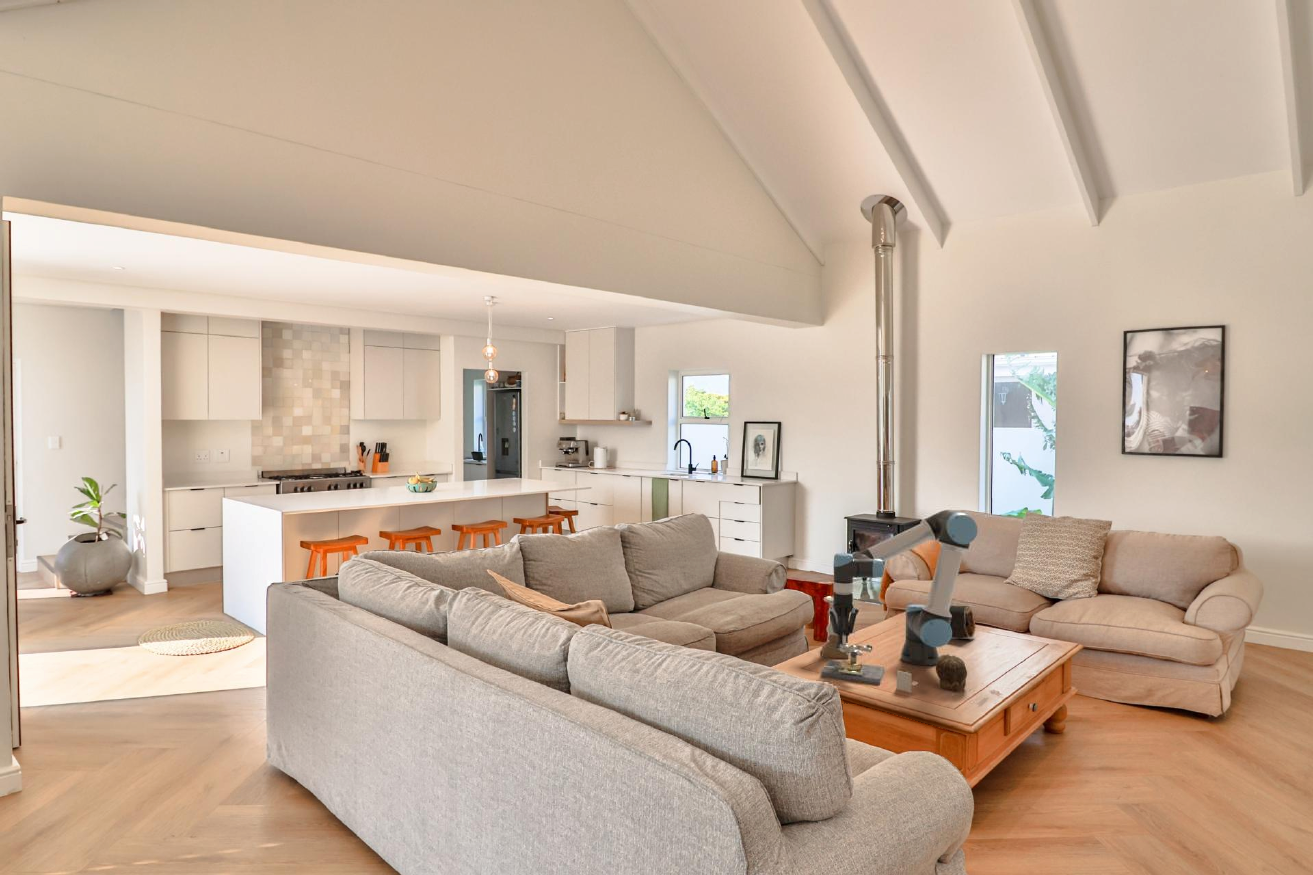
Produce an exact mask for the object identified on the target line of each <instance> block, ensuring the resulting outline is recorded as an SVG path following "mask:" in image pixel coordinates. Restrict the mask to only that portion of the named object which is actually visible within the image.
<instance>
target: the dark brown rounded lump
mask: <svg viewBox="0 0 1313 875" xmlns="http://www.w3.org/2000/svg"><path fill="white" fill-rule="evenodd" d="M935 672H936V675H937V676H938V679H939V685H940V687H941V689H944V690H946V691H949V692H955V693H956V692H958V693H961V692H963V691H964V690H965V688H966V685H967V684H966V683H967V682H966V681H967V676H968V670H967V666H966V663H965V662H964V660H963V659H962V658H960V657H958V656H956V655H954V654H953V655H950V654H949V653H948V654H942V655H940V656H939V658H938V660H937V662H936V664H935Z"/></svg>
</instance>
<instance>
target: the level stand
mask: <svg viewBox="0 0 1313 875" xmlns="http://www.w3.org/2000/svg"><path fill="white" fill-rule="evenodd" d="M841 662H842V661H838V660H831V659H829V660H827V662H826V663H825V665H824V667H823V668H822V670H821V671H820V672H821V676H820V677H821V678H828V679H835V680H836V679H837V680H844V681H849V682H856V683H857V682H858V683H866V684H874V685H879V686H880V685H881V683H882V680H883V677H884V674H885V666H881V665H880V666H878V665H872V664H871V665H870V664H865V663H864V664H863V663H862V671H861V672H855V671H848V670H847V669H844V670H841Z"/></svg>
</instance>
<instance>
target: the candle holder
mask: <svg viewBox="0 0 1313 875" xmlns="http://www.w3.org/2000/svg"><path fill="white" fill-rule="evenodd" d="M823 601H824V602H826V603H829V606H830V607H831V609H832V608H833V605H834V601H833V595H829V596H825V597H823ZM834 615H835V618H836V622H837V614H836V612H835V614H834ZM826 632H827V634H829V635H828V636H827V639H828V641H827V642H823V645H821V657H823V658H829V659H830V658H831V659H842V660H843V659H844V660H850V659H849V658H850V655H849V654H850V653H846V652H842V651H840V648H839V649H837V648H836V647H835V643H837V642H838V635H837V634H835V633H834V632H833V628H832V623H831V620H830V622H829V623H828V625H827V627H826ZM838 643H839V642H838Z"/></svg>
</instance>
